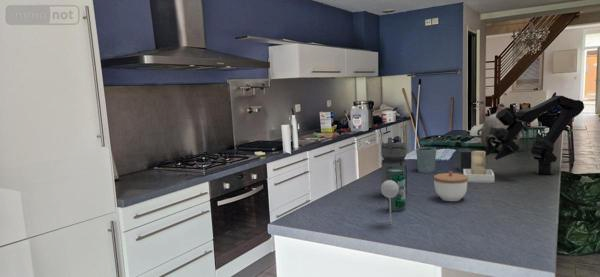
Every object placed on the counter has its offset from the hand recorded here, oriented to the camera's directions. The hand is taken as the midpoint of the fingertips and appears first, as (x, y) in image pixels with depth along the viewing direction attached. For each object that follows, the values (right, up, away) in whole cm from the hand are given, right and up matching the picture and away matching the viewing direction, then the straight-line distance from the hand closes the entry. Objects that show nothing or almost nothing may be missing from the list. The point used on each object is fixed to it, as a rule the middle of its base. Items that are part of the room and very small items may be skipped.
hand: (489, 157), depth 193 cm
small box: (-3, -8, +22) cm, 23 cm away
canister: (-5, -9, 0) cm, 11 cm away
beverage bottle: (-48, -15, -17) cm, 53 cm away
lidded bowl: (-28, -15, -28) cm, 43 cm away
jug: (+38, +1, +68) cm, 78 cm away
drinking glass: (-22, -8, +24) cm, 33 cm away
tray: (-5, -10, +1) cm, 11 cm away
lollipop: (-58, -20, -53) cm, 81 cm away
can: (-52, -18, -37) cm, 66 cm away
